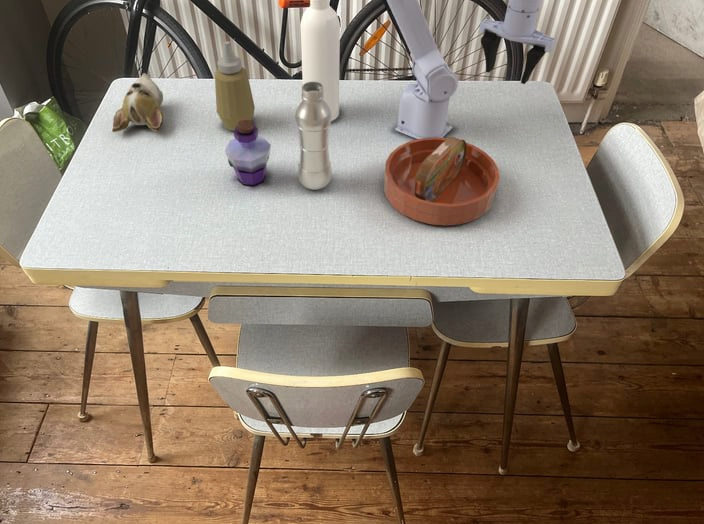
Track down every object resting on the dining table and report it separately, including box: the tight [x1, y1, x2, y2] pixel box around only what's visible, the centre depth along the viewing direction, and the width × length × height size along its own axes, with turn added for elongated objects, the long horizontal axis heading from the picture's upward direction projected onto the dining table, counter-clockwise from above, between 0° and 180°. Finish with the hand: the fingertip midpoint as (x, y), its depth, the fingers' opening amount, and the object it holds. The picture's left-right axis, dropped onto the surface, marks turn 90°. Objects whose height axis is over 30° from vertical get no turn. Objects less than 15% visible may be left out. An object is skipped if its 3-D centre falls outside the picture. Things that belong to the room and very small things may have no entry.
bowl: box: [383, 137, 500, 226], centre depth 106 cm, size 20×20×5 cm
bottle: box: [299, 0, 341, 122], centre depth 115 cm, size 8×8×30 cm
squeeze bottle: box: [214, 40, 255, 132], centre depth 117 cm, size 8×8×18 cm
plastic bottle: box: [294, 81, 333, 191], centre depth 103 cm, size 6×7×20 cm
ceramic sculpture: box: [111, 72, 164, 133], centre depth 122 cm, size 11×9×15 cm
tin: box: [415, 136, 467, 202], centre depth 105 cm, size 15×3×8 cm, turn 142°
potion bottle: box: [224, 119, 272, 187], centre depth 107 cm, size 9×9×12 cm
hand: (506, 76), depth 115 cm, fingers open, 7 cm apart
